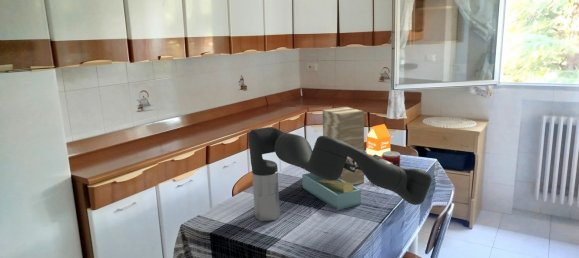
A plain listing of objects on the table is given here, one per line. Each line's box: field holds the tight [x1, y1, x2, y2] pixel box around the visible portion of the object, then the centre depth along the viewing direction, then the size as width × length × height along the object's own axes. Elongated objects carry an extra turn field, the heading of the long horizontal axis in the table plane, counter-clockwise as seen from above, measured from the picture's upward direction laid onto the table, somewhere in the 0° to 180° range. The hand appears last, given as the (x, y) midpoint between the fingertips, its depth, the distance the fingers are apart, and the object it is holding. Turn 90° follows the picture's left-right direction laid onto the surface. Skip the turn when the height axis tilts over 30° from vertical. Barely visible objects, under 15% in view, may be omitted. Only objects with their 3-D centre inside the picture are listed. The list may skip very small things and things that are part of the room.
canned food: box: [382, 150, 401, 167], centre depth 187 cm, size 8×8×11 cm
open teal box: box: [301, 172, 362, 211], centre depth 169 cm, size 28×11×6 cm, turn 26°
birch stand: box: [322, 106, 365, 186], centre depth 182 cm, size 14×12×32 cm
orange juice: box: [365, 123, 391, 157], centre depth 204 cm, size 8×9×20 cm
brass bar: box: [316, 179, 353, 193], centre depth 167 cm, size 22×4×3 cm, turn 26°
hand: (352, 157), depth 151 cm, fingers open, 8 cm apart
